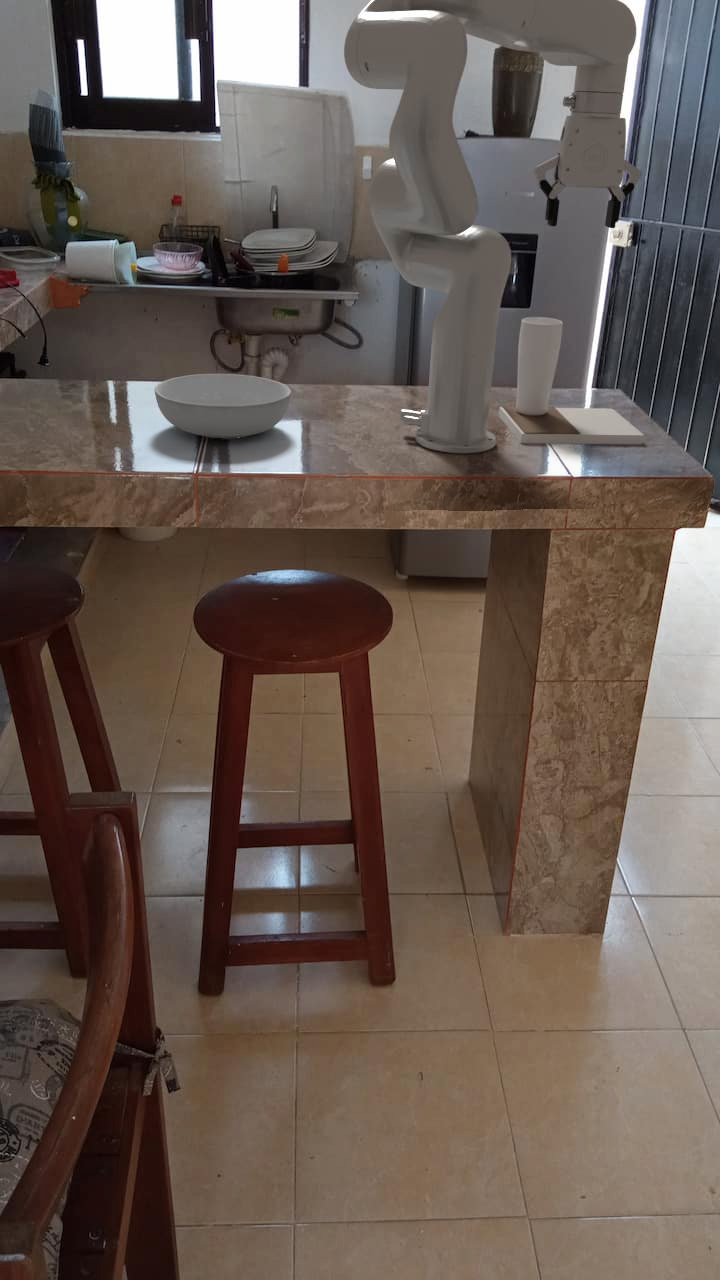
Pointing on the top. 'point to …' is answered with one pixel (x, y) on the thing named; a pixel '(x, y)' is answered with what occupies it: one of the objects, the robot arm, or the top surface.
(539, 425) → the brown rectangular panel
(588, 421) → the board
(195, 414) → the serving bowl
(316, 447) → the top surface
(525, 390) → the drinking glass
